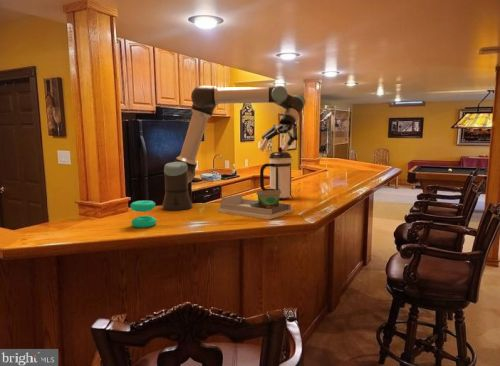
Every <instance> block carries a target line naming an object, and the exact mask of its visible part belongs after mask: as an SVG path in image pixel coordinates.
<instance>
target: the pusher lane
mask: <svg viewBox="0 0 500 366" xmlns="http://www.w3.org/2000/svg"><path fill="white" fill-rule="evenodd" d="M220 201H221V203H219V208H218V209H217V212H218V213H223V214H230V215H235V216H243V217H248V216H249V217H250V218H257V219H261V220H272V219H274V218H278V217H281V215H282V216H285V215H287V213H288V214H290V212H291V213H293V212H292V211H293V210H294V209H293V208H292V204H291V203H284V202H283V203H282V202H279V206H278V207H274V208H271V209H263V208H255V207H251V206H250V203H251V202H255V203H256V202H258V200H257V199H249V198H243V193H239V194H235V195H230V196H225V197H221V199H220ZM284 214H285V215H284ZM249 217H248V218H249Z"/></svg>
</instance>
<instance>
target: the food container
mask: <svg viewBox="0 0 500 366" xmlns="http://www.w3.org/2000/svg"><path fill="white" fill-rule="evenodd" d="M280 194H281V190H280V189H279V188H278V190H266V191H263V190H262V189H256V193H255V195H257V199H258V203H259V208H263V209H271V208H274V207H278V206H279V203H280V198H279V196H280Z"/></svg>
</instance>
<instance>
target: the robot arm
mask: <svg viewBox="0 0 500 366" xmlns="http://www.w3.org/2000/svg"><path fill="white" fill-rule="evenodd" d="M190 95H191V96H190V98H191V102H192V104H191V108H190V109H191V112H192V115H191V119H190V121H189V126H188V128H187V132H186V134H185V139H184V141H183V144H182V148H181V152H180V154H179V156H177V157H176V158H175V161H172V162H168V163H166V164H165V165H164V168H163V173H164V190H165V191H164V192H165V194H164V197H163V201H162V204H161V206H162V210H165V211H184V210H190V209H191V208H193V202H192V199H191V197H190V194H189V183H191V182H192V181H193V180H194V179H195V177H196V168H197V165H198V163H197V160H196V159H197V155H198V152H199V150H200V145H201V143H202V139H203V137H204V133H205V130H206V127H207V123H208V119H209V118H212V116H213V113H214V110H215V109H216V107H218V105H219V104H221V105H223V104H226V105H227V104H262V103H263V104H264V103H267V104H275V105H276V106H279V107H281V108H283V109H285V111H284V113H283V115H282V116H281V119H280V120H279V124H278V125H276V124H273V125H272V127H270V129H268V130H267V131H266V132H265V133H264V134H263V135H261V139H262V142H261V144H260V146H259V149H260V150H261V152H264V151H265V149H266V147H267V145H268V144H269V141H270V140H272V139H273V138H275V137H276V136H279V135H281V134H282V135H283V134H287V135H288V138H287V139H286V141H285V143H284V144H283V147H282V150H283V152H288V150H289V148H290V146H291V145H292V144H293V142H294V141H298V129H299V128H298V125H297V124H296V122H297V120H298V118H299V117H300V116H301V113H302V111H303V109H304V107H305V106H306V98H305V97H304V96H303V95H301V94H294V95H291V94H289V93H288V90H287V89H286V87H284V86H281V85H276V86H270V87H268V86H264V87H263V86H260V87H259V86H258V87H257V86H256V87H218V86H217V85H201V84H200V85H198V86H196V87H195V88H193V90H192V92H191V94H190ZM291 130H292V133H291ZM292 134H293V135H292Z"/></svg>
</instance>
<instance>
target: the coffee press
mask: <svg viewBox="0 0 500 366" xmlns="http://www.w3.org/2000/svg"><path fill="white" fill-rule="evenodd" d="M277 150H278V151H273V152H271V153H270V154H269V157H268V159H269V163H264V164H262V166H261V167H260V170H259V184H260V185H259V186H260V190H262V191H266V190H278V188H279V189H280V190H281V194H280V196H279V199H286V198H287V199H289V200H291V201H292V200H294V197H293V196H292V161H293V158H292V157H293V156H292V155H291V153H290V152H288V151H287V152H285V151H283V147H281V146H279V147H278V149H277ZM268 167H269V188H266V187H265V185H264V184H265V183H264V182H265V181H264V172H265V169H266V168H268Z"/></svg>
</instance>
